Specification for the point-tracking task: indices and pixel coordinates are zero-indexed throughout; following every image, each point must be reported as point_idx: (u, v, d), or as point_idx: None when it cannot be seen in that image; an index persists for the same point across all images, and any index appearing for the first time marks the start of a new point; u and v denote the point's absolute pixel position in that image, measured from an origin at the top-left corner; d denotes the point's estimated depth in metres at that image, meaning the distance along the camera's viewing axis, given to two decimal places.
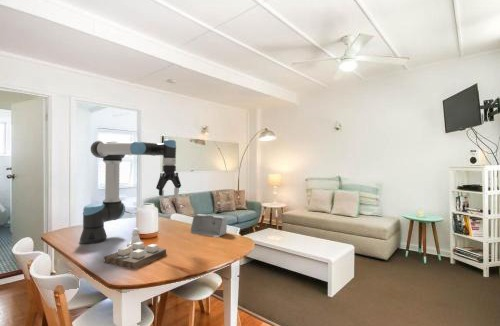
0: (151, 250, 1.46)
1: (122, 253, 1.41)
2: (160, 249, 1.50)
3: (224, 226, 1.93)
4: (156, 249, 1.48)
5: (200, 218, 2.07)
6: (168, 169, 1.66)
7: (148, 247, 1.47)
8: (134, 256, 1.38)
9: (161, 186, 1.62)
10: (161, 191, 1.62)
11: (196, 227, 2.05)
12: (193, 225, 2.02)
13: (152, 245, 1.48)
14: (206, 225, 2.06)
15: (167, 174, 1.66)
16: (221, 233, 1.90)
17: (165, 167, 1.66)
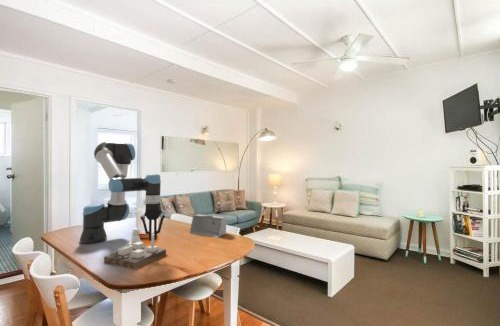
0: (151, 251, 1.46)
1: (122, 253, 1.41)
2: (160, 249, 1.50)
3: (223, 226, 1.93)
4: (156, 250, 1.48)
5: (199, 218, 2.07)
6: (146, 208, 1.45)
7: (148, 248, 1.47)
8: (134, 256, 1.38)
9: (149, 231, 1.47)
10: (150, 236, 1.47)
11: (195, 227, 2.04)
12: (193, 225, 2.01)
13: None
14: (205, 225, 2.06)
15: (146, 214, 1.46)
16: (220, 233, 1.89)
17: None
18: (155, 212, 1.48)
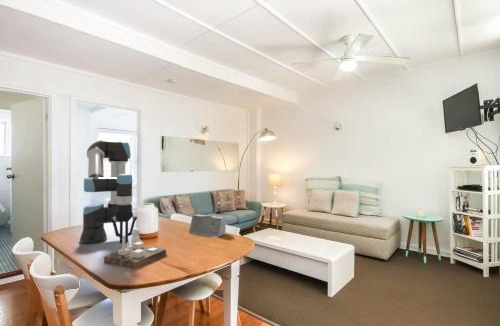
0: None
1: (122, 254, 1.41)
2: (160, 249, 1.50)
3: (223, 227, 1.92)
4: None
5: (199, 218, 2.06)
6: (117, 210, 1.40)
7: (148, 251, 1.47)
8: (134, 256, 1.38)
9: None
10: (121, 239, 1.42)
11: (195, 227, 2.03)
12: (192, 225, 2.00)
13: (152, 249, 1.48)
14: (205, 225, 2.05)
15: (117, 215, 1.41)
16: (220, 234, 1.88)
17: (116, 207, 1.42)
18: (126, 214, 1.43)
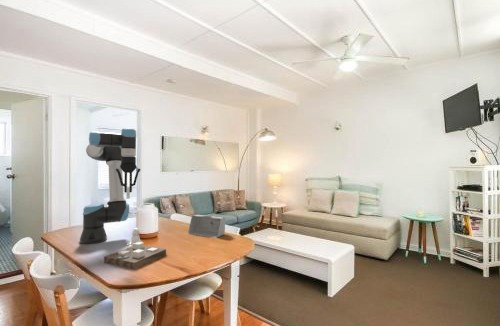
0: None
1: None
2: (160, 249, 1.50)
3: (222, 227, 1.91)
4: None
5: (198, 219, 2.05)
6: (122, 161, 1.51)
7: (148, 251, 1.47)
8: (134, 256, 1.38)
9: None
10: (125, 188, 1.53)
11: (194, 228, 2.02)
12: (191, 225, 1.99)
13: (152, 249, 1.48)
14: (204, 225, 2.04)
15: (122, 166, 1.52)
16: (219, 234, 1.88)
17: (121, 158, 1.53)
18: (130, 165, 1.54)
